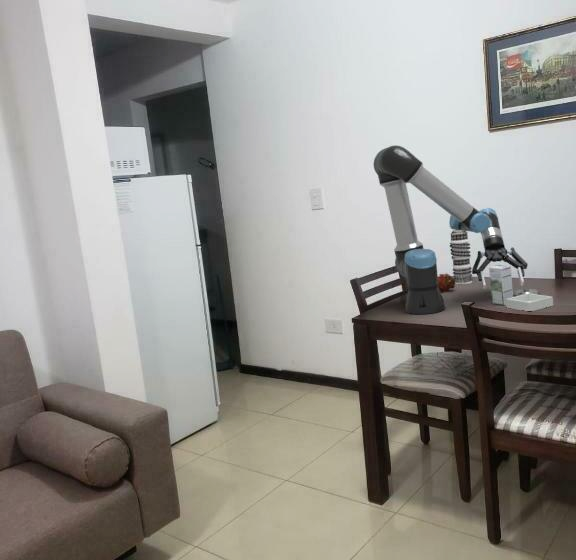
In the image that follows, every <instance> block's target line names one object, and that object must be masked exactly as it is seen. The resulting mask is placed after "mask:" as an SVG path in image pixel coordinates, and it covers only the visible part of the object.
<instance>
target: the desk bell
mask: <svg viewBox="0 0 576 560" xmlns="http://www.w3.org/2000/svg"><path fill="white" fill-rule="evenodd" d="M528 293H529V294H536V295H541V292H539V291H538V289H534V288H522V289H517V290H515V291H514V293H513V297H516V296H520V295H524V294H528Z"/></svg>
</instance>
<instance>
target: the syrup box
mask: <svg viewBox="0 0 576 560" xmlns="http://www.w3.org/2000/svg"><path fill="white" fill-rule="evenodd" d="M511 266H512V265H510V264H507V265H506V264H496V265H492V266H489V267H488V270H489V280H490V293H491V304H492V305H493V304H494V305H501V306H506V299H508V298H512V297H513V294H514V293H513V291H514V289H513V279H512V277H513V276H512V268H511Z"/></svg>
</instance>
